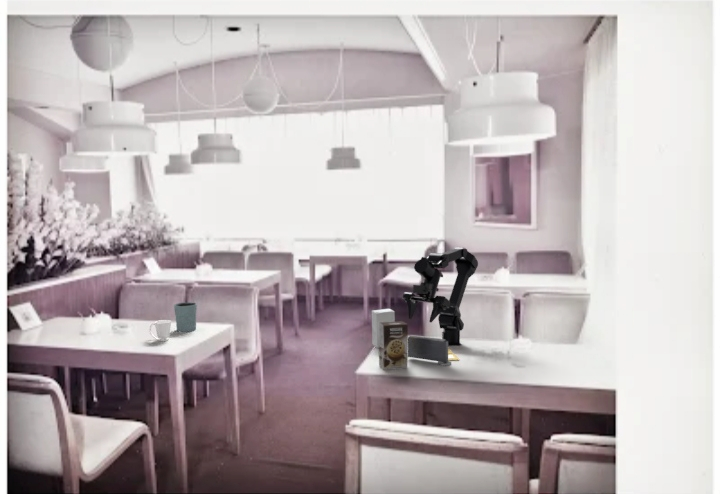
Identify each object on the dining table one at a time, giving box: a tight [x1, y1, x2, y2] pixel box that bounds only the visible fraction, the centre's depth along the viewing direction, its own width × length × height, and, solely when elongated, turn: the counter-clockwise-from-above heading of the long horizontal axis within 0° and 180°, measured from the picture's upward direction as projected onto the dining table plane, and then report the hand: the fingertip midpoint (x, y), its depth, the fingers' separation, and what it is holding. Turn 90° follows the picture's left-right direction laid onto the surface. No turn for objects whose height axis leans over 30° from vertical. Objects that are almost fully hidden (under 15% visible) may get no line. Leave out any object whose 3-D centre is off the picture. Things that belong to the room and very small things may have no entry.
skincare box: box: [371, 308, 396, 349], centre depth 258 cm, size 8×6×15 cm
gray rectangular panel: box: [408, 334, 449, 362], centre depth 234 cm, size 16×2×8 cm, turn 59°
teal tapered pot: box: [173, 301, 198, 333], centre depth 291 cm, size 10×10×12 cm
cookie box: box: [378, 320, 409, 371], centre depth 228 cm, size 9×6×16 cm
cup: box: [148, 319, 172, 342], centre depth 272 cm, size 7×10×8 cm
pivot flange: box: [437, 361, 452, 367], centre depth 231 cm, size 5×5×1 cm
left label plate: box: [448, 353, 460, 362], centre depth 240 cm, size 6×8×1 cm
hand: (419, 320), depth 241 cm, fingers open, 9 cm apart
